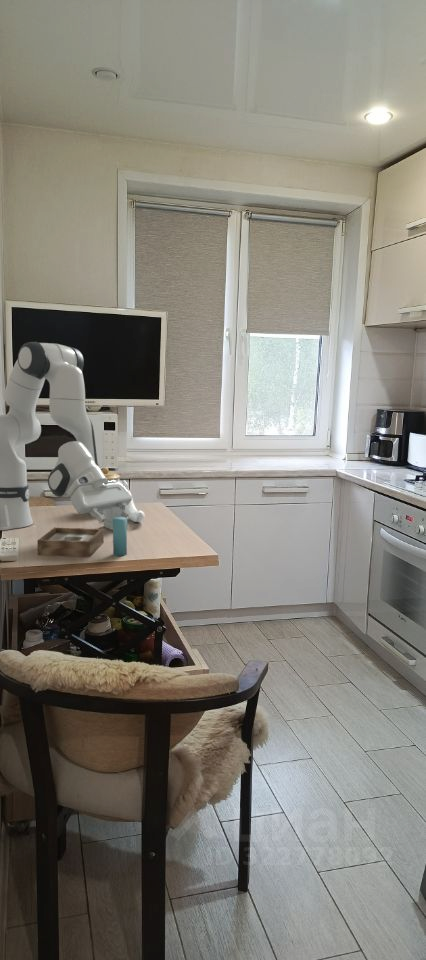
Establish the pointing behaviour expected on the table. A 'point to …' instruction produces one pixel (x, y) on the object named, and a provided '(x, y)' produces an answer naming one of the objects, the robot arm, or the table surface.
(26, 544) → the table surface
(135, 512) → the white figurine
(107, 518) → the skincare box
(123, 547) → the teal rectangular block
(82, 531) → the peg box
